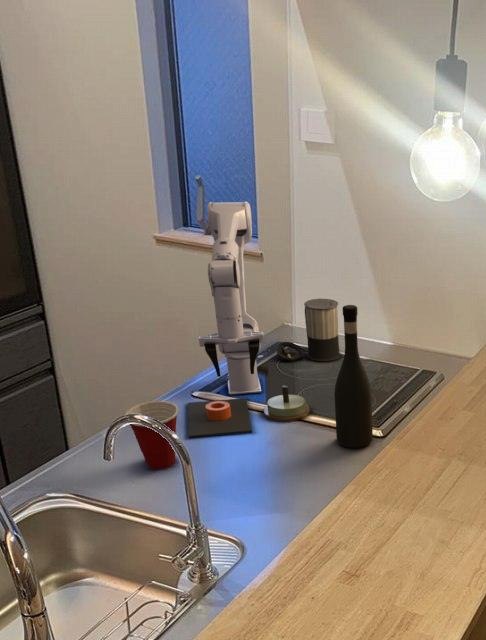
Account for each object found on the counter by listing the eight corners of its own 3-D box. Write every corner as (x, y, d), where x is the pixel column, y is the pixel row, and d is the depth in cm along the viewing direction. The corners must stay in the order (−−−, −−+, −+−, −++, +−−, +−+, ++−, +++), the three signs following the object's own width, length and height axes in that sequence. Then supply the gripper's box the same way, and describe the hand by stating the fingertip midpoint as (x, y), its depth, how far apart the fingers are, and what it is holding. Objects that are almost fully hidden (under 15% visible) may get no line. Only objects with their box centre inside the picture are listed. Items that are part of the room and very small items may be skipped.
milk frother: (347, 356, 238) (345, 302, 230) (304, 370, 228) (300, 315, 220) (314, 345, 246) (310, 292, 238) (270, 358, 236) (265, 304, 228)
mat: (188, 405, 208) (188, 402, 208) (246, 400, 211) (246, 398, 210) (189, 438, 192) (188, 435, 191) (252, 432, 194) (251, 430, 194)
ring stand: (262, 405, 208) (259, 379, 204) (307, 402, 210) (305, 376, 206) (265, 423, 199) (263, 396, 195) (313, 419, 201) (311, 392, 197)
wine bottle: (333, 436, 192) (326, 302, 176) (367, 432, 194) (363, 299, 178) (341, 451, 186) (335, 313, 170) (376, 446, 188) (373, 310, 172)
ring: (206, 412, 203) (205, 402, 201) (230, 410, 204) (229, 400, 202) (207, 421, 198) (205, 411, 197) (231, 419, 199) (230, 409, 198)
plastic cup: (123, 470, 178) (112, 416, 172) (154, 449, 187) (145, 397, 180) (166, 479, 175) (157, 424, 168) (196, 457, 183) (189, 405, 177)
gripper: (196, 323, 187) (204, 382, 195) (262, 318, 190) (268, 377, 197) (195, 313, 193) (203, 371, 200) (260, 309, 196) (265, 367, 203)
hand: (235, 373), depth 199 cm, fingers open, 7 cm apart
